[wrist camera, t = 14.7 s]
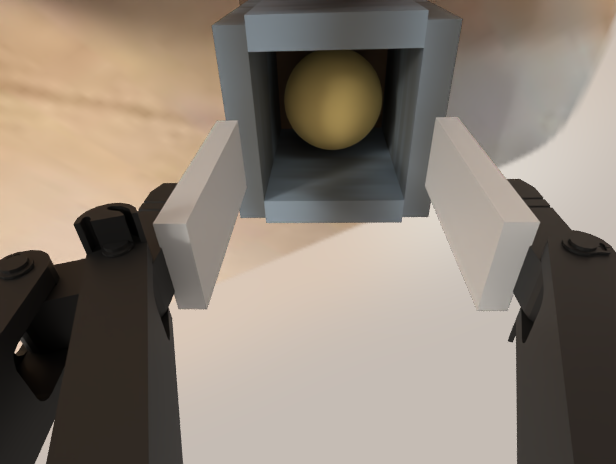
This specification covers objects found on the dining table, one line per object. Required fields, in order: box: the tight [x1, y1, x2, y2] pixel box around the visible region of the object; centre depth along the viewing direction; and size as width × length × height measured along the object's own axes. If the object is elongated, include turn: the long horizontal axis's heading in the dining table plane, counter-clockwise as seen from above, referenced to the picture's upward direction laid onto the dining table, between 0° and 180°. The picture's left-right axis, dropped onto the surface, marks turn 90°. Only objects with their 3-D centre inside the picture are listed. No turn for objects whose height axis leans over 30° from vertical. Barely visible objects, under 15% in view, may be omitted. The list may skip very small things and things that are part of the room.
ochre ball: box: [284, 50, 382, 150], centre depth 21 cm, size 5×5×5 cm
